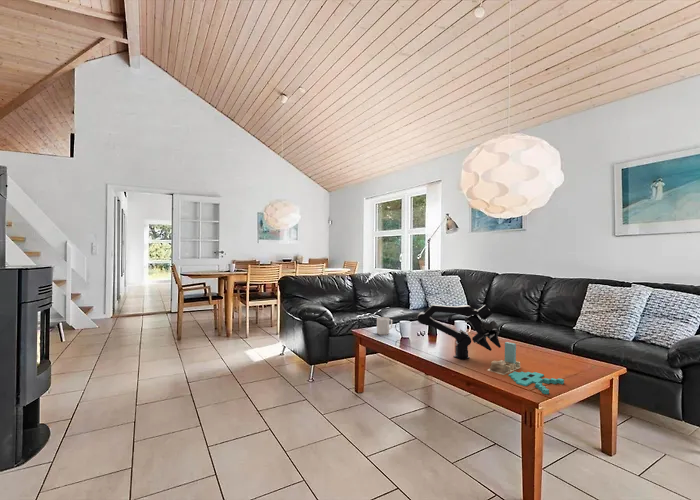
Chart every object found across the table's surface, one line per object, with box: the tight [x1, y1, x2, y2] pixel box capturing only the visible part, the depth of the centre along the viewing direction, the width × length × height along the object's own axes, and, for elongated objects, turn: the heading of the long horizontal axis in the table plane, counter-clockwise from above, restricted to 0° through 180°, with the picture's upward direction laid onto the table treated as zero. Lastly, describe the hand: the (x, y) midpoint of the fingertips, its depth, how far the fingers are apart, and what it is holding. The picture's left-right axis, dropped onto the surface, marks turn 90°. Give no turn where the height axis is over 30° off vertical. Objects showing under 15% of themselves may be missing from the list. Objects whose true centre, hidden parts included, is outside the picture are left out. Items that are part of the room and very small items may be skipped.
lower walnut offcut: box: [489, 365, 508, 374], centre depth 185 cm, size 7×4×2 cm, turn 40°
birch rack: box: [487, 358, 522, 376], centre depth 189 cm, size 9×18×4 cm, turn 130°
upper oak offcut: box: [490, 360, 506, 369], centre depth 185 cm, size 6×4×2 cm, turn 46°
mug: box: [376, 316, 393, 336], centre depth 265 cm, size 12×9×11 cm
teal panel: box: [504, 341, 517, 364], centre depth 192 cm, size 5×2×12 cm, turn 40°
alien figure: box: [508, 371, 565, 395], centre depth 173 cm, size 20×2×20 cm
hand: (495, 348), depth 198 cm, fingers open, 9 cm apart
